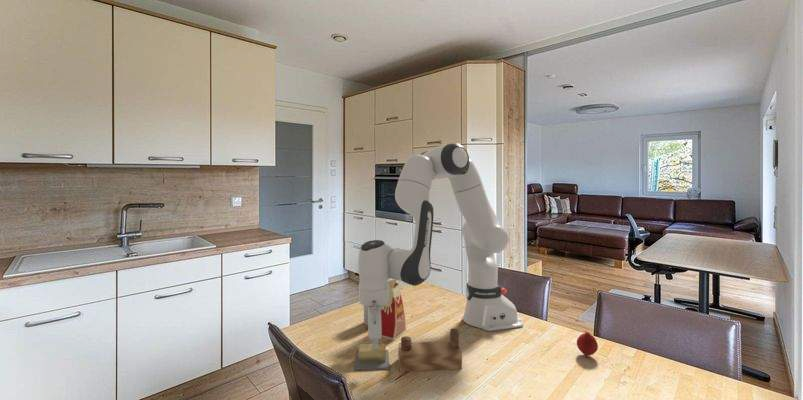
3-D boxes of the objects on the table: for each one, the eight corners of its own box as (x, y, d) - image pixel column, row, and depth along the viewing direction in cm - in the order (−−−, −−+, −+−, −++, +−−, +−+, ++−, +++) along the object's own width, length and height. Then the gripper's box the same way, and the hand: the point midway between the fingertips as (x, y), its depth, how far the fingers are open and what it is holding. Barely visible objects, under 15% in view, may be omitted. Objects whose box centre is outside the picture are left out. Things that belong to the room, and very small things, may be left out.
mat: (388, 351, 114) (388, 349, 114) (389, 369, 104) (389, 367, 104) (356, 352, 113) (356, 350, 113) (355, 370, 103) (355, 368, 103)
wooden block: (385, 354, 111) (385, 343, 111) (385, 361, 107) (385, 350, 106) (359, 355, 110) (359, 344, 110) (358, 362, 106) (358, 351, 106)
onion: (595, 352, 114) (596, 328, 113) (598, 362, 108) (600, 336, 107) (575, 349, 115) (576, 325, 115) (577, 358, 110) (578, 333, 109)
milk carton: (406, 330, 129) (406, 276, 127) (395, 341, 121) (395, 283, 119) (384, 325, 133) (384, 272, 131) (371, 335, 124) (371, 279, 123)
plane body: (456, 356, 111) (456, 325, 110) (461, 368, 104) (462, 335, 103) (398, 358, 110) (398, 327, 109) (400, 371, 103) (400, 338, 102)
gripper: (386, 308, 96) (387, 357, 98) (383, 284, 117) (383, 324, 118) (362, 309, 96) (364, 358, 97) (363, 284, 116) (364, 325, 117)
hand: (374, 339), depth 108 cm, fingers open, 8 cm apart
